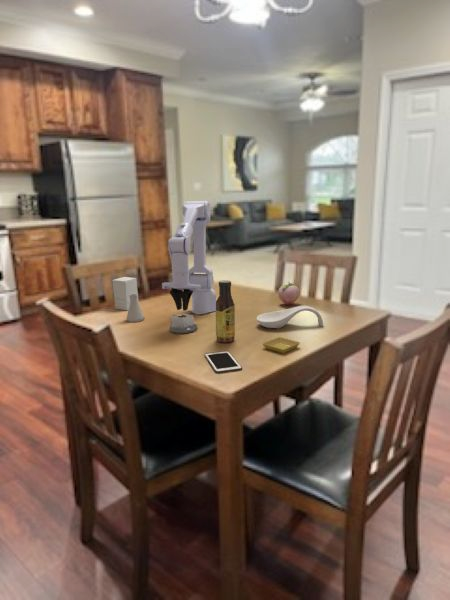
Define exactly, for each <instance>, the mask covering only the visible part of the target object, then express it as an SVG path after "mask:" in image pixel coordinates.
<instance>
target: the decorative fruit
mask: <svg viewBox="0 0 450 600" xmlns="http://www.w3.org/2000/svg"><path fill="white" fill-rule="evenodd" d="M277 295H278V298H279V299H280V301H281V302H282V303H284V304H285V305H288V306H291V305H292V304H295V302H296V301H297V300H298V298H299V296H300V289H299V287H298V286H297V284H296V283H293V282H289V283H287V284H283V285H281V286H280V287H279V289H278V291H277Z"/></svg>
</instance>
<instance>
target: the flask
mask: <svg viewBox="0 0 450 600" xmlns="http://www.w3.org/2000/svg"><path fill="white" fill-rule="evenodd" d="M137 295H138V296H139V293H138V294H130V295H129V297H130V307H129V310H127V311H128V312H127V315H126V319H125V321H126V322H130V323H135V322H141V321H143V320H145V315H144V314H143V312H142V309H141V307H140V305H139V304H140V303H139V304H138V302H139V300H138V301H137Z"/></svg>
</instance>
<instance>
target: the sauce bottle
mask: <svg viewBox="0 0 450 600" xmlns="http://www.w3.org/2000/svg"><path fill="white" fill-rule="evenodd" d="M218 287H219V290H218V291H219V293H218V294H219V295H218V297H217V298H216V311H215V336H216V341H217V342H219V343H225V344H226V343H231V342H233V341H235V338H236V337H235V336H236V315H235V314H236V310H235V309H236V307H235V305H236V304H235V302H234V299H233V296H232V291H231V290H232V281H231V280H228V279H227V280H226V279H225V280H222V279H221V280H219V281H218Z"/></svg>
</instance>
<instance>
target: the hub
mask: <svg viewBox="0 0 450 600" xmlns="http://www.w3.org/2000/svg"><path fill="white" fill-rule="evenodd" d="M181 318H185V317H181ZM168 330H169V332H170V333H171V334H176V335H187V334H192V333H196V332H197V330H198V325H197V324H196V323H194V326H193V327H191V328H189V329H186V330H179V329H174V328H172V324H171V325H170V326H169V328H168Z"/></svg>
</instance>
